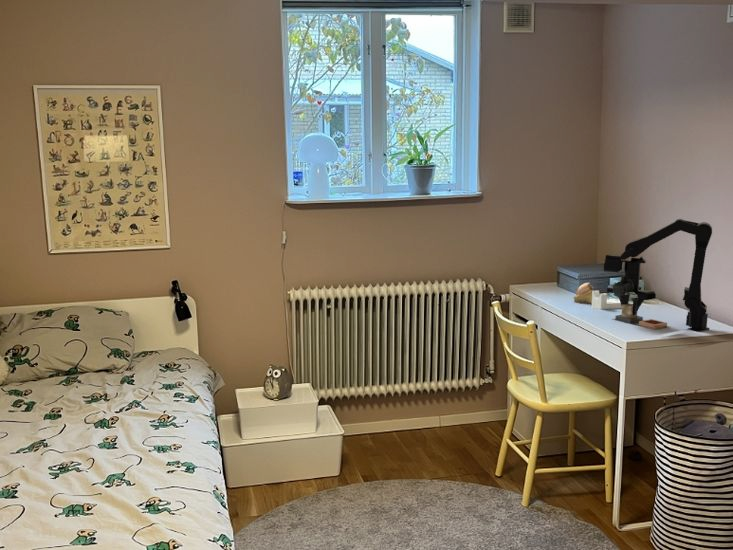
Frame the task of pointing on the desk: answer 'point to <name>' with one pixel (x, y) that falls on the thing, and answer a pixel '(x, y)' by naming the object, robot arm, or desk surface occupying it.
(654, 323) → the base plate
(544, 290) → the desk surface
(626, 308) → the wooden block
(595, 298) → the bracket
